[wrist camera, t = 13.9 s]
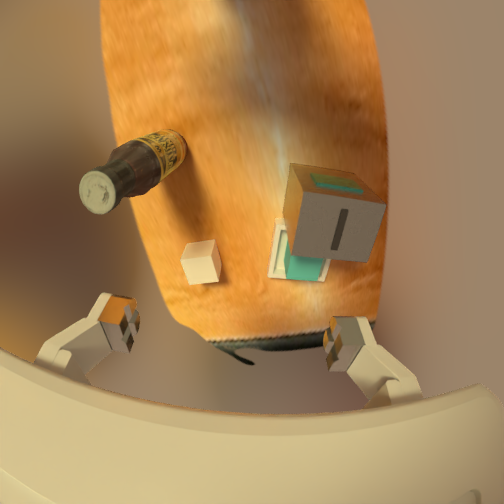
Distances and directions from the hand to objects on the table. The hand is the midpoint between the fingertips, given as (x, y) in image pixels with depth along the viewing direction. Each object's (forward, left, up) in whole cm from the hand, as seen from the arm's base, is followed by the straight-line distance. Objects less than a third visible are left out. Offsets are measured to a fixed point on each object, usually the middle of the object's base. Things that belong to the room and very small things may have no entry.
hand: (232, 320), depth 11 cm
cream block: (+18, -6, -31) cm, 37 cm away
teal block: (+15, +10, -30) cm, 35 cm away
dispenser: (+5, +11, -31) cm, 33 cm away
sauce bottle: (0, -12, -31) cm, 34 cm away
